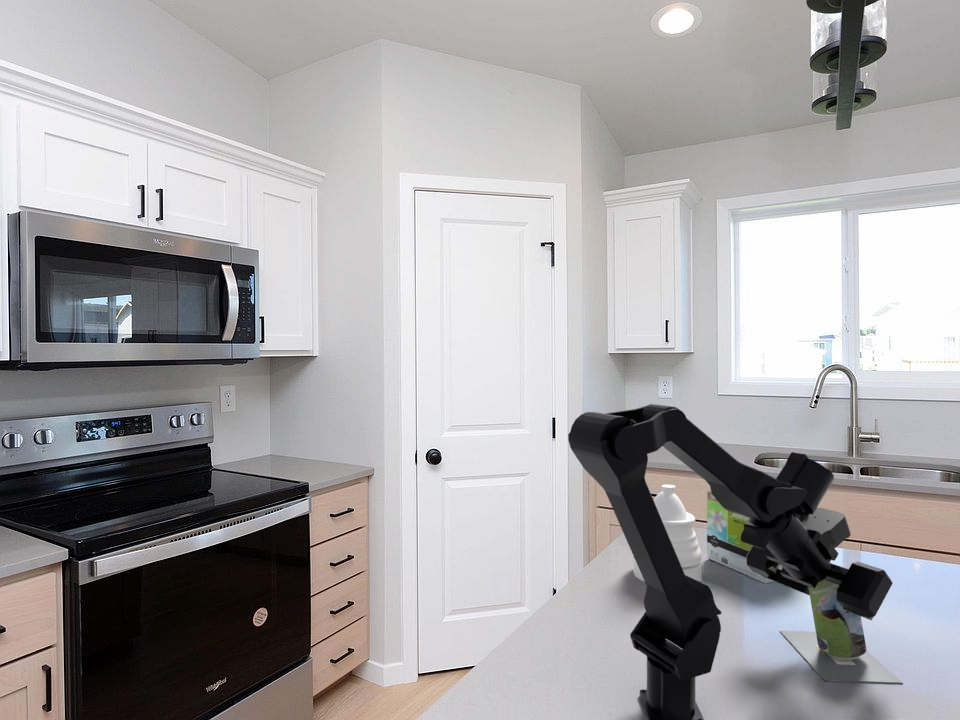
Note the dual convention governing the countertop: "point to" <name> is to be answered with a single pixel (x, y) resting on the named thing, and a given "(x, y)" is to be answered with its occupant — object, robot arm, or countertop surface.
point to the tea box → (728, 539)
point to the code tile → (839, 662)
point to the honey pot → (678, 533)
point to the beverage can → (835, 624)
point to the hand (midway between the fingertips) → (839, 604)
